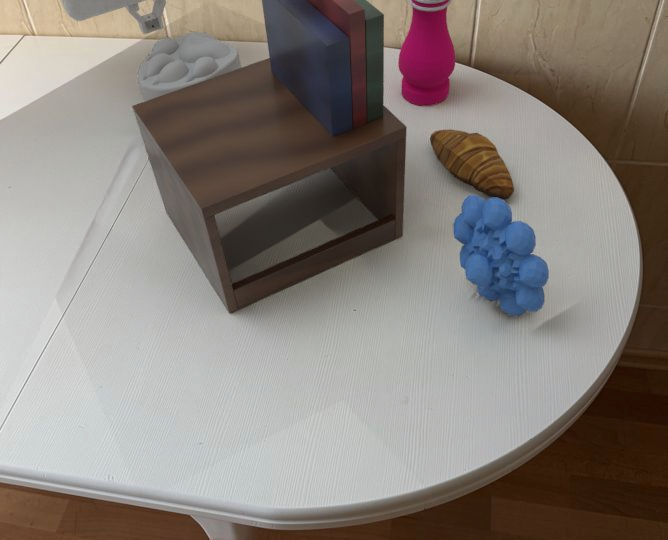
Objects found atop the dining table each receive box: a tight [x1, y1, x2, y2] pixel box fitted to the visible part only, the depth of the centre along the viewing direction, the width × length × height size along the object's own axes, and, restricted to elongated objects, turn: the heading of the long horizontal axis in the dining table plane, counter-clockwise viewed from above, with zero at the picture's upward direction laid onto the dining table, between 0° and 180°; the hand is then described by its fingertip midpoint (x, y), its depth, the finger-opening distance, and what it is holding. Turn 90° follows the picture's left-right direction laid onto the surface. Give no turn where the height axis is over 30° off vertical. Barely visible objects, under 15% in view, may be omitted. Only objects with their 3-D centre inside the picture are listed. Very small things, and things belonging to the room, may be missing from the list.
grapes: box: [452, 194, 550, 317], centre depth 66 cm, size 12×7×12 cm, turn 38°
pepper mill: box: [397, 0, 456, 107], centre depth 85 cm, size 7×7×20 cm
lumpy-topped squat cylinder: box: [137, 31, 242, 102], centre depth 90 cm, size 10×13×9 cm
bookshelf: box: [131, 0, 408, 314], centre depth 69 cm, size 18×21×25 cm
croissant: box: [429, 129, 515, 201], centre depth 81 cm, size 14×7×5 cm, turn 34°
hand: (152, 29), depth 96 cm, fingers closed
